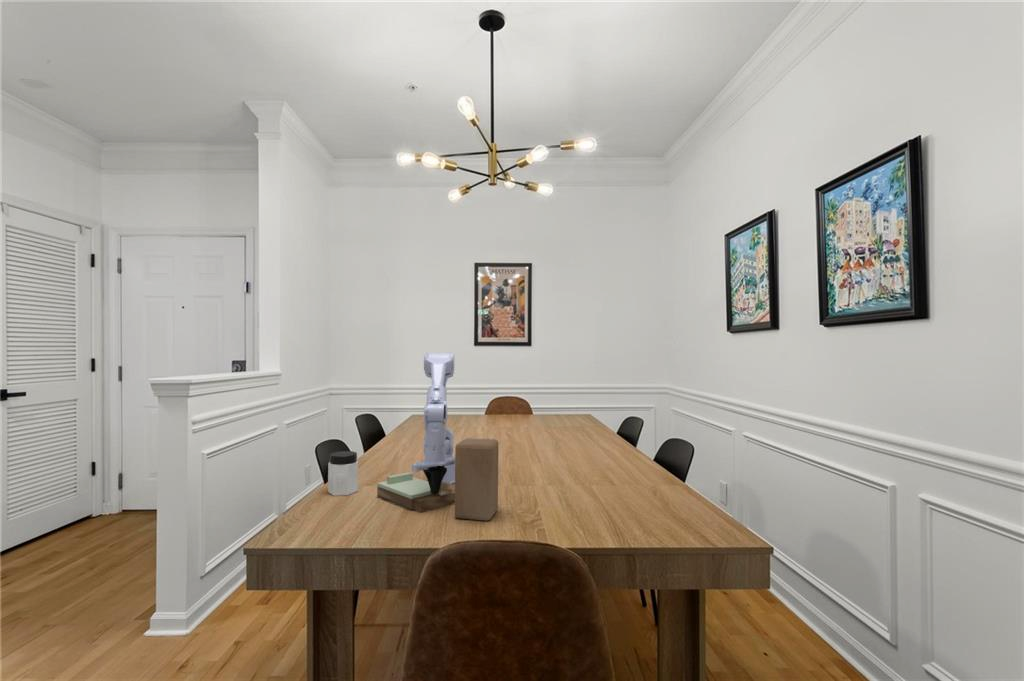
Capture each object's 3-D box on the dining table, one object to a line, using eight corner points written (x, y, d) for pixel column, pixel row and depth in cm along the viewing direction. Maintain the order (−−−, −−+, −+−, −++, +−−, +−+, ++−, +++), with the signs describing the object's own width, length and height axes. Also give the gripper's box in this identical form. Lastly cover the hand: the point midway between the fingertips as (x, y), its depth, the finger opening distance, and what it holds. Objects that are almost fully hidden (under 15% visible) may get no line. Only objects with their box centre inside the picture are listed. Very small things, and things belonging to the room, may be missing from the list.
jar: (325, 496, 155) (325, 456, 155) (330, 488, 163) (331, 451, 163) (355, 495, 156) (356, 456, 156) (359, 488, 164) (360, 450, 164)
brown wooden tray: (426, 485, 167) (426, 476, 168) (467, 499, 153) (467, 489, 153) (377, 496, 155) (377, 487, 155) (417, 513, 140) (417, 502, 140)
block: (489, 522, 133) (490, 445, 134) (453, 519, 135) (454, 443, 136) (498, 510, 143) (499, 438, 143) (464, 507, 145) (465, 437, 145)
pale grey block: (446, 491, 150) (446, 481, 150) (452, 492, 149) (452, 483, 149) (435, 493, 148) (435, 484, 148) (441, 495, 146) (441, 485, 146)
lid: (410, 479, 163) (410, 470, 163) (445, 490, 151) (445, 480, 151) (377, 486, 155) (377, 476, 155) (411, 499, 142) (411, 488, 142)
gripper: (422, 450, 138) (421, 501, 138) (463, 444, 148) (463, 491, 148) (407, 447, 143) (407, 495, 143) (448, 440, 153) (448, 486, 153)
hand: (434, 493), depth 146 cm, fingers closed
